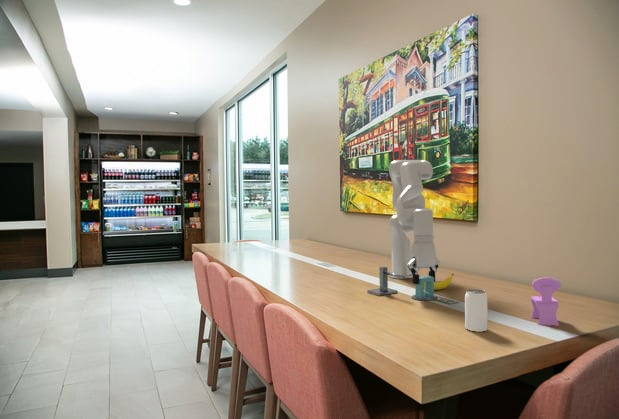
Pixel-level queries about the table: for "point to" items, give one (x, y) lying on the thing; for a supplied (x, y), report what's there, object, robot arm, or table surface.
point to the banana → (441, 283)
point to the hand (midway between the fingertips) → (424, 282)
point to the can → (476, 310)
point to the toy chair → (545, 301)
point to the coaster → (424, 298)
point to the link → (429, 287)
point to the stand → (384, 283)
